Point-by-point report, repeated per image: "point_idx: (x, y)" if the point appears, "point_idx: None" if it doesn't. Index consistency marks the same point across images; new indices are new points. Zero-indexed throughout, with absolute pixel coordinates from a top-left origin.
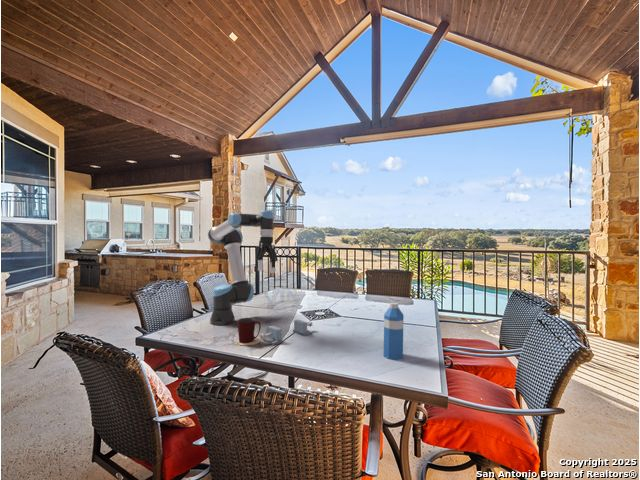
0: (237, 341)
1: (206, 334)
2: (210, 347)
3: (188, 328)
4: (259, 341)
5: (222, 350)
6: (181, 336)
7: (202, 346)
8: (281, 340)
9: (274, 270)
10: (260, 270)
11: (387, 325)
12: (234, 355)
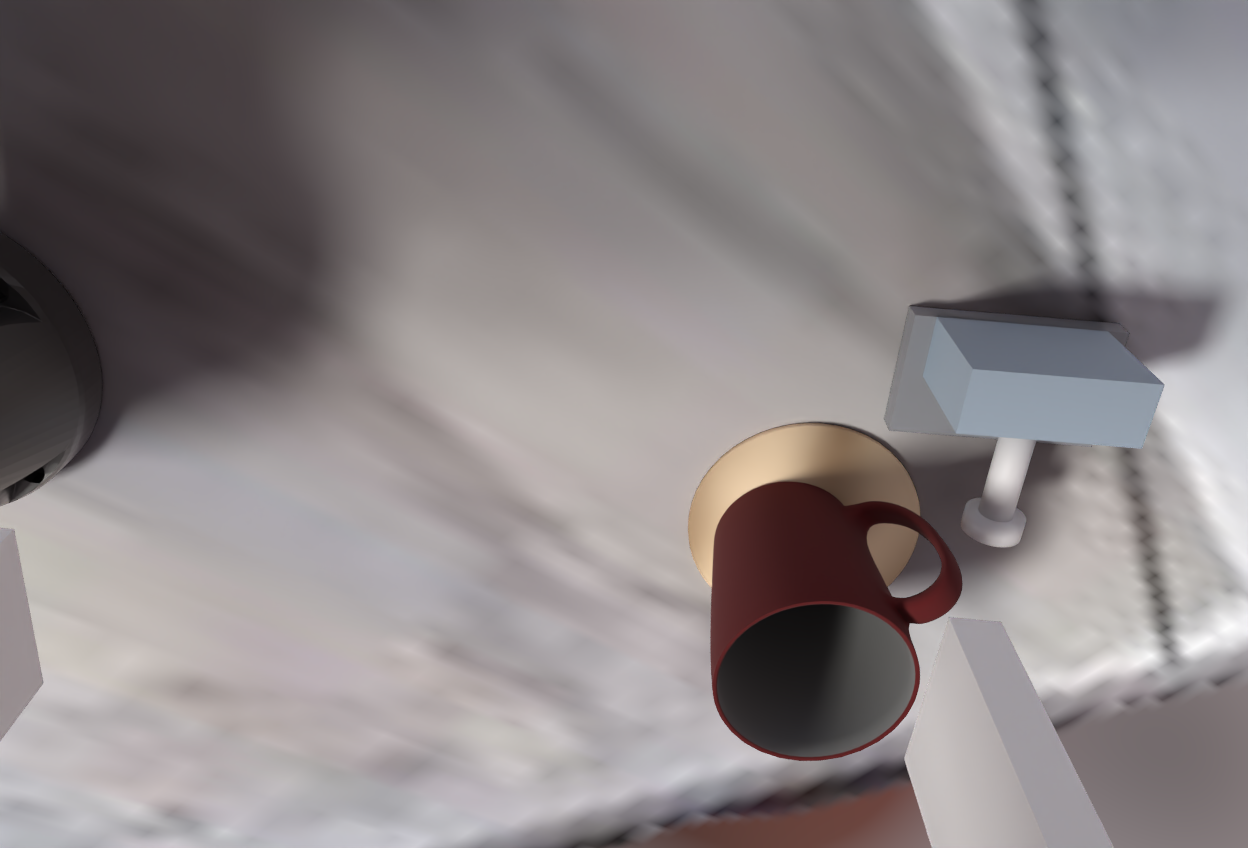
0: None
1: (318, 661)
2: (662, 771)
3: None
4: (906, 472)
5: None
6: (233, 800)
7: (594, 795)
8: (1123, 343)
9: (1030, 707)
10: (26, 623)
11: None
12: None
